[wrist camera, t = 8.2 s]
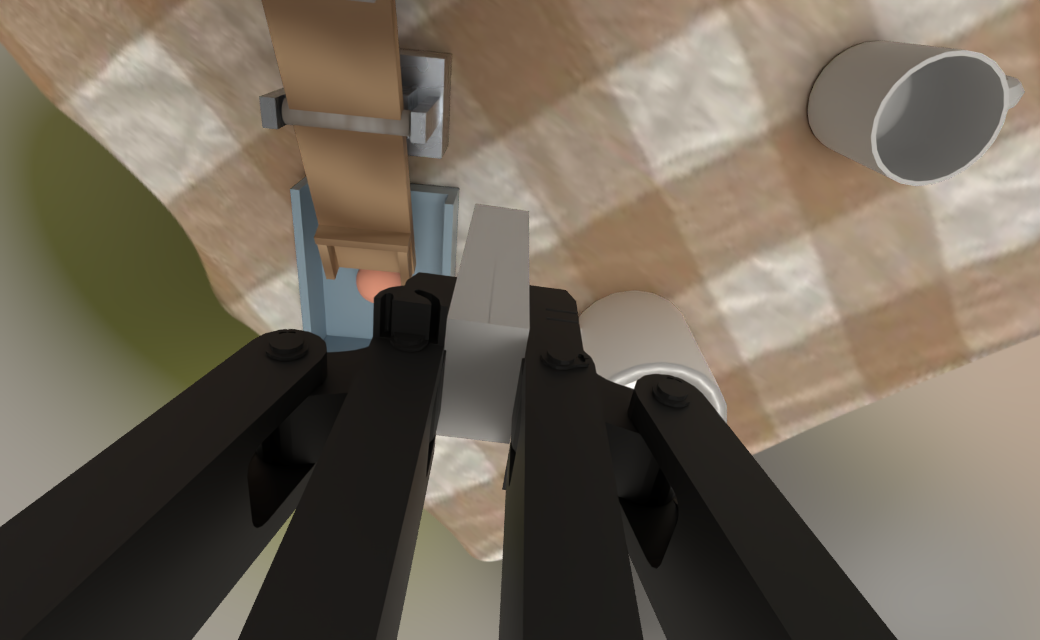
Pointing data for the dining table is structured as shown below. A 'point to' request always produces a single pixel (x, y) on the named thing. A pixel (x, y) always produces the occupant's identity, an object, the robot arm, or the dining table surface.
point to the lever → (349, 127)
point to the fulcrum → (404, 101)
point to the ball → (375, 282)
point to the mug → (645, 343)
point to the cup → (911, 108)
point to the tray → (338, 302)
